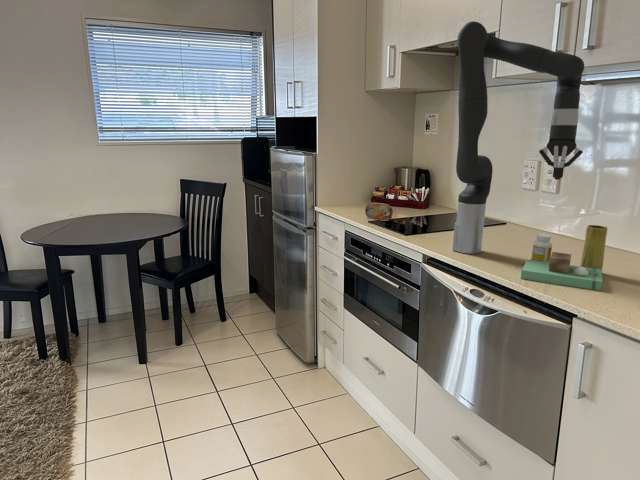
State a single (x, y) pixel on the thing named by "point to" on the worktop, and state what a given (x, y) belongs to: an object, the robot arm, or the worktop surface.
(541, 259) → the supplement bottle
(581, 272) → the ball
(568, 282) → the green
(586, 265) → the vase
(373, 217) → the tin
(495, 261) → the worktop surface
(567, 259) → the block
